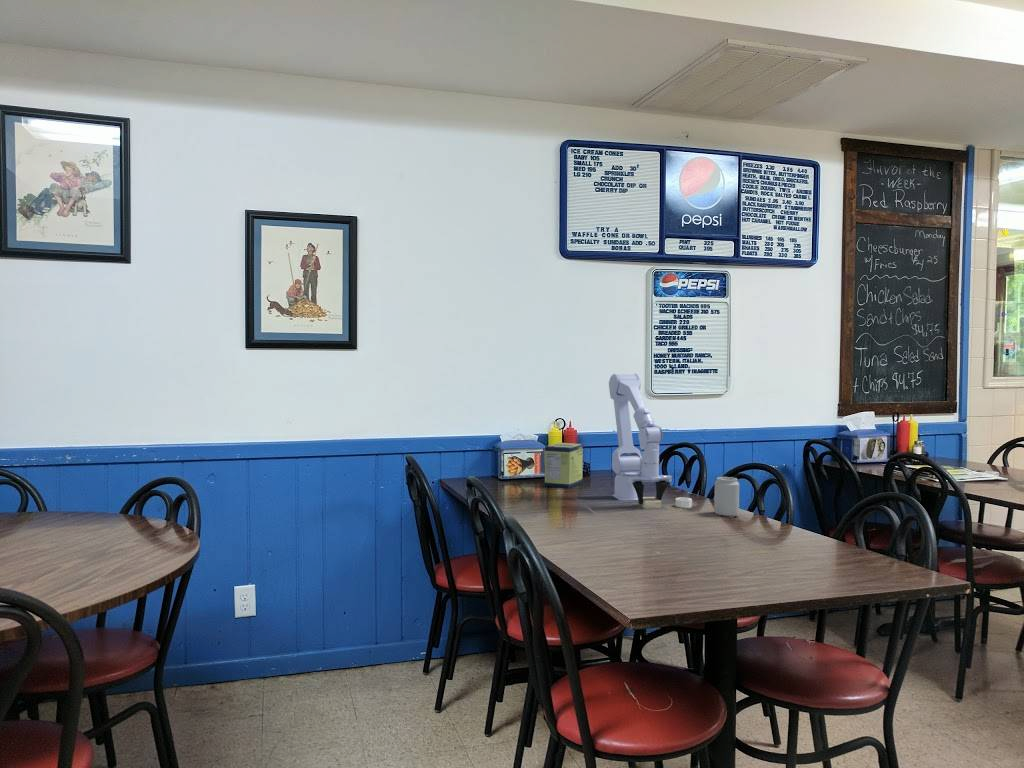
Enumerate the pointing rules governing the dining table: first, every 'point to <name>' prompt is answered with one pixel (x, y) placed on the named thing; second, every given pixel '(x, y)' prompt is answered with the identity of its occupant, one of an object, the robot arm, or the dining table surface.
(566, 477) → the protein box
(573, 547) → the dining table surface
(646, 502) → the block
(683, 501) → the bowl
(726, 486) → the can
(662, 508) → the mat
